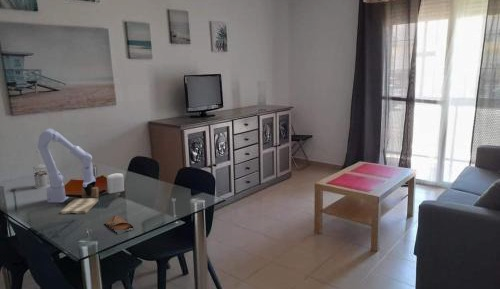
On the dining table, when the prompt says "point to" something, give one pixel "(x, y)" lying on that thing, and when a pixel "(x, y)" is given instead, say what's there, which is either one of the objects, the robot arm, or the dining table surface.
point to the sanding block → (93, 193)
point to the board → (79, 205)
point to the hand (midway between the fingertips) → (90, 194)
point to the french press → (40, 177)
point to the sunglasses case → (118, 223)
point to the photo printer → (115, 183)
